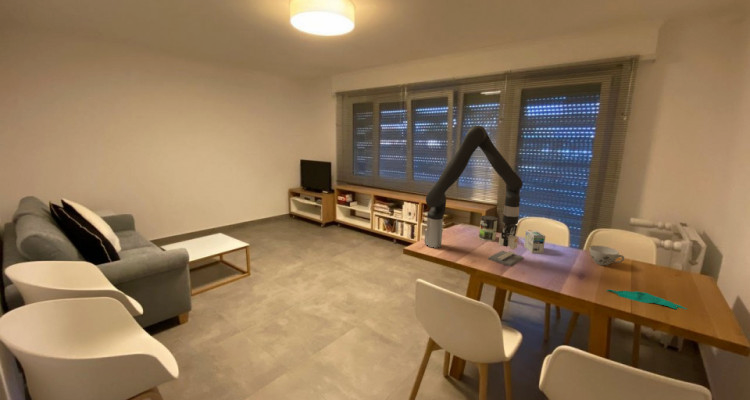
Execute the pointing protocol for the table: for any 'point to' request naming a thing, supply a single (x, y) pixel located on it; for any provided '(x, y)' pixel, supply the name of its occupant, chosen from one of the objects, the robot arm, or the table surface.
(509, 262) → the mounting board
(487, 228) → the coffee can
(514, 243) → the block
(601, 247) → the teacup
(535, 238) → the light bulb box
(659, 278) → the table surface
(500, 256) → the metal rail
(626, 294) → the cloth
